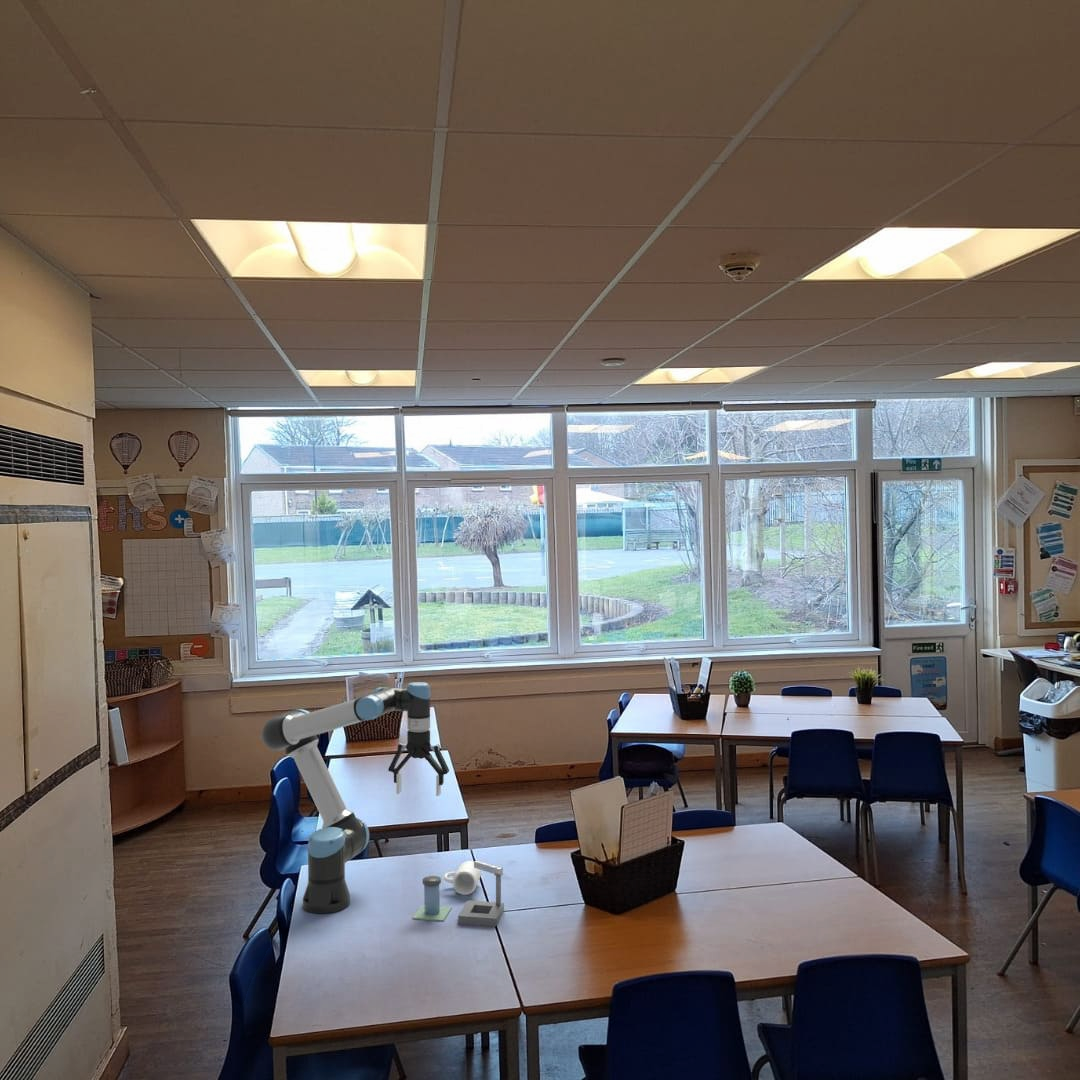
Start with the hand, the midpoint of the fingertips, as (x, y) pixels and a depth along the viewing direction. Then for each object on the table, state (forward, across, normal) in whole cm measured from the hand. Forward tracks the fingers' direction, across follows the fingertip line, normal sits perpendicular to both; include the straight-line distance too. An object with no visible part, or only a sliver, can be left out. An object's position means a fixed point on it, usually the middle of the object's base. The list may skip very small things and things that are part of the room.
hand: (418, 793), depth 302 cm
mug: (+35, +12, +10) cm, 38 cm away
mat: (+35, +8, -11) cm, 37 cm away
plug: (+34, +8, -11) cm, 37 cm away
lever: (+23, +25, -4) cm, 34 cm away
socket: (+35, +24, -11) cm, 44 cm away
